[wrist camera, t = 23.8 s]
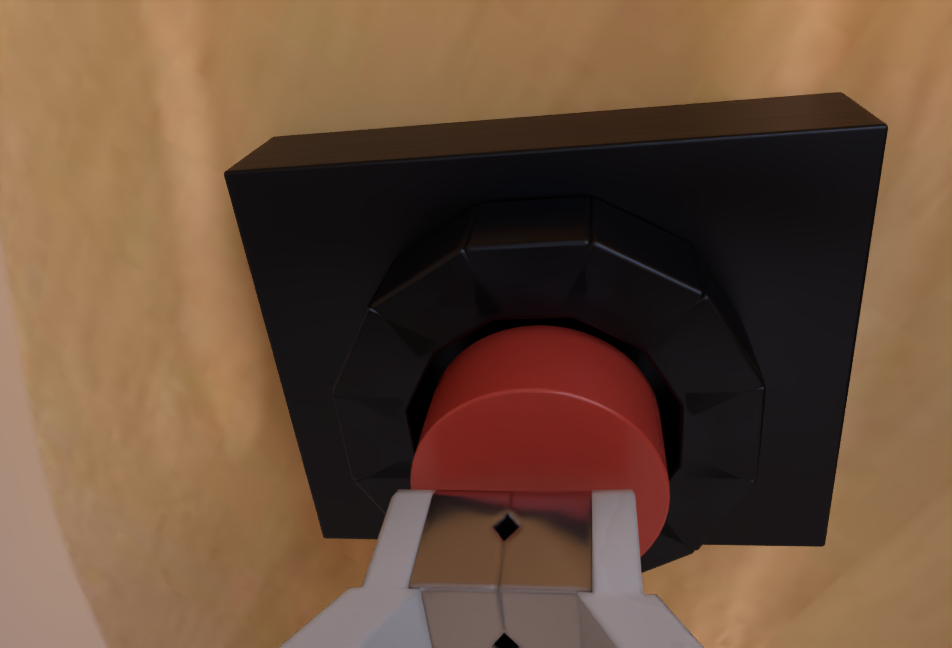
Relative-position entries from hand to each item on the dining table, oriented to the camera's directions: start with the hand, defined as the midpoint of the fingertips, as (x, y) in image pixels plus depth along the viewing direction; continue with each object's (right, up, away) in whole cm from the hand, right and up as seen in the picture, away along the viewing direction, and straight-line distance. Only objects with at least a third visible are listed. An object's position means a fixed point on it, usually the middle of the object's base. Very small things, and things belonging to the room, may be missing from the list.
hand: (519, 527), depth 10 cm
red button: (+1, +1, +2) cm, 3 cm away
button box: (+1, +3, +5) cm, 6 cm away
